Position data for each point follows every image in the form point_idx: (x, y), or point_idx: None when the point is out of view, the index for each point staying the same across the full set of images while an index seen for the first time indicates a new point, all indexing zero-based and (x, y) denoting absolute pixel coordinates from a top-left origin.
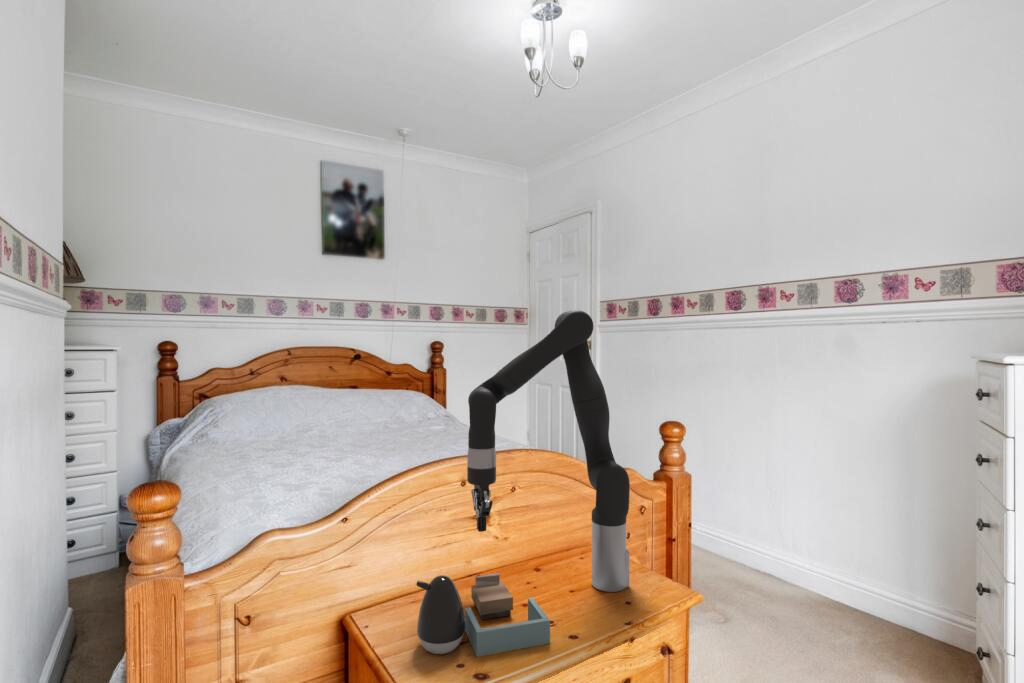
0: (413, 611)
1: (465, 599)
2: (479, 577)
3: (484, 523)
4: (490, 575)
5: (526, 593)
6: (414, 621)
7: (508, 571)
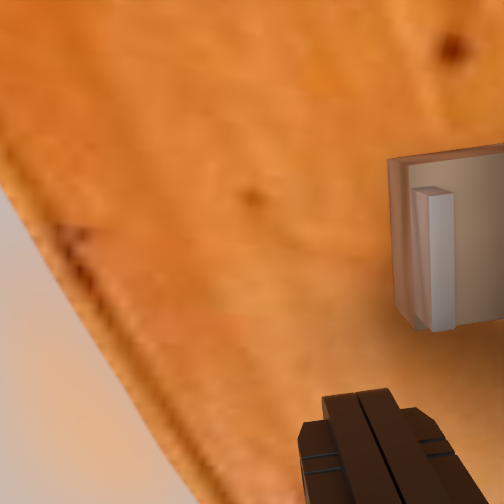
0: None
1: (331, 314)
2: (454, 312)
3: (457, 471)
4: (446, 248)
5: (336, 14)
6: None
7: (46, 62)
